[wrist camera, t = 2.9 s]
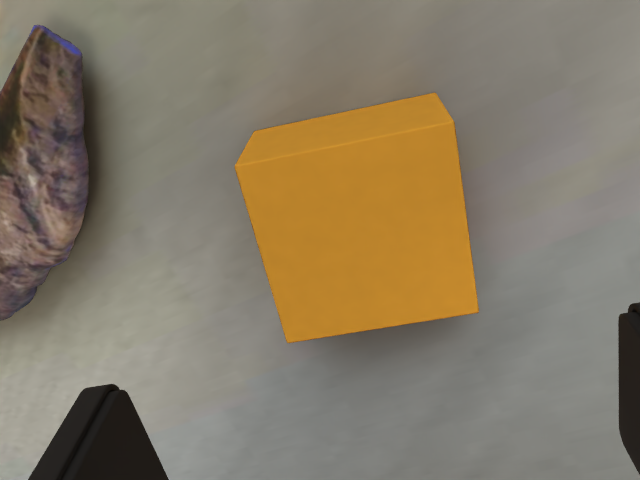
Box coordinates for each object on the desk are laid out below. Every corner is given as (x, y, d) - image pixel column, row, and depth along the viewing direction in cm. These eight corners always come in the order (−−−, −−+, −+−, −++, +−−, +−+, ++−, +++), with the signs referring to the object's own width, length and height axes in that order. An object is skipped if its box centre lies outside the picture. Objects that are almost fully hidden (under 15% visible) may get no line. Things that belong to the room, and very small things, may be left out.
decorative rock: (-99, 308, 26) (3, 369, 27) (-142, 340, 24) (-29, 404, 25) (45, 7, 20) (172, 100, 21) (5, 14, 18) (147, 117, 18)
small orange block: (296, 286, 24) (287, 344, 20) (253, 130, 21) (233, 166, 18) (459, 258, 23) (479, 313, 20) (436, 91, 20) (454, 120, 17)
